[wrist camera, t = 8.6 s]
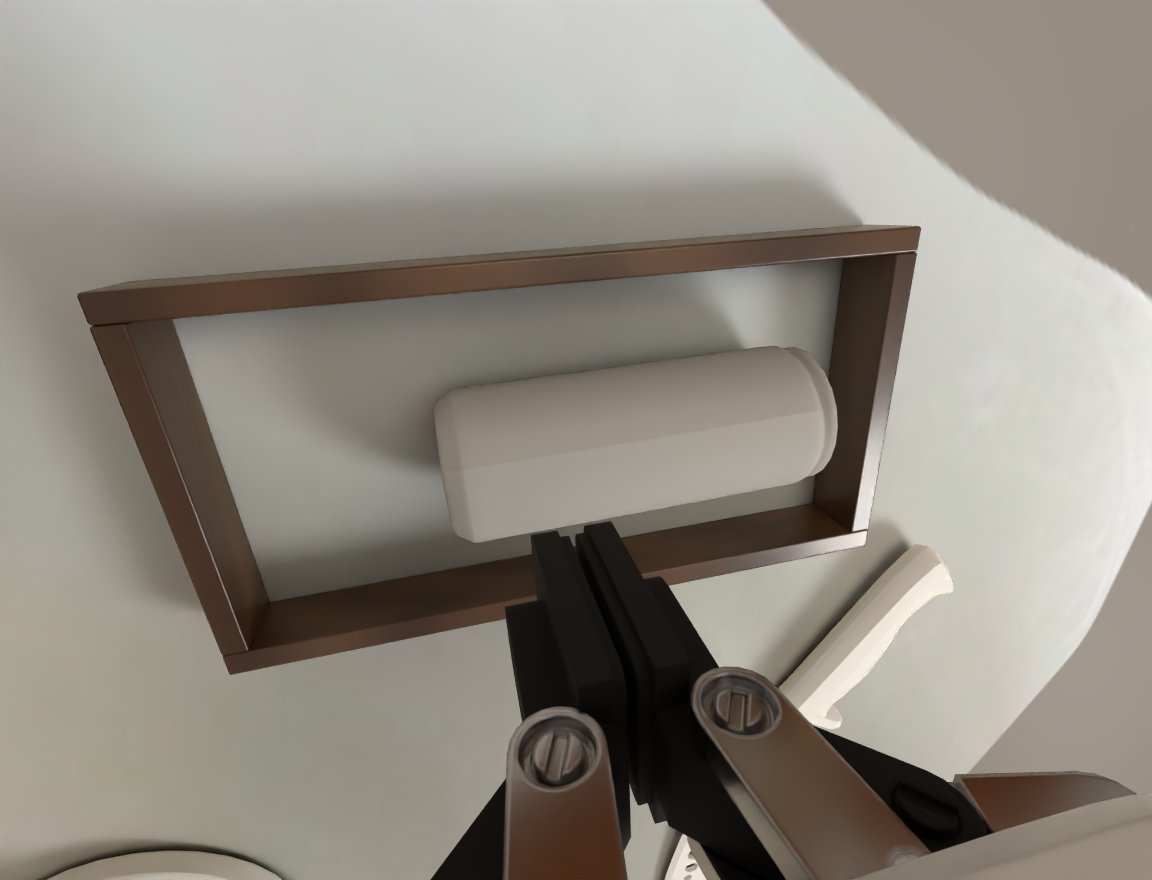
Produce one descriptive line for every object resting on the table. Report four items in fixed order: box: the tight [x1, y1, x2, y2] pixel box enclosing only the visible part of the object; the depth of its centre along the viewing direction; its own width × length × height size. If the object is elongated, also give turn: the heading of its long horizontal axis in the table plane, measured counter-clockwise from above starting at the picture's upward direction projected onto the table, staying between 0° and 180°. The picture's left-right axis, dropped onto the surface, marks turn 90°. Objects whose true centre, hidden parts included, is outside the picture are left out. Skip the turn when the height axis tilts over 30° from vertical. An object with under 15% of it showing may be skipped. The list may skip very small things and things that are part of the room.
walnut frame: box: [78, 225, 921, 675], centre depth 19 cm, size 24×12×2 cm, turn 93°
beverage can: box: [434, 346, 838, 543], centre depth 18 cm, size 5×5×12 cm
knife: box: [665, 544, 954, 880], centre depth 30 cm, size 30×2×8 cm
